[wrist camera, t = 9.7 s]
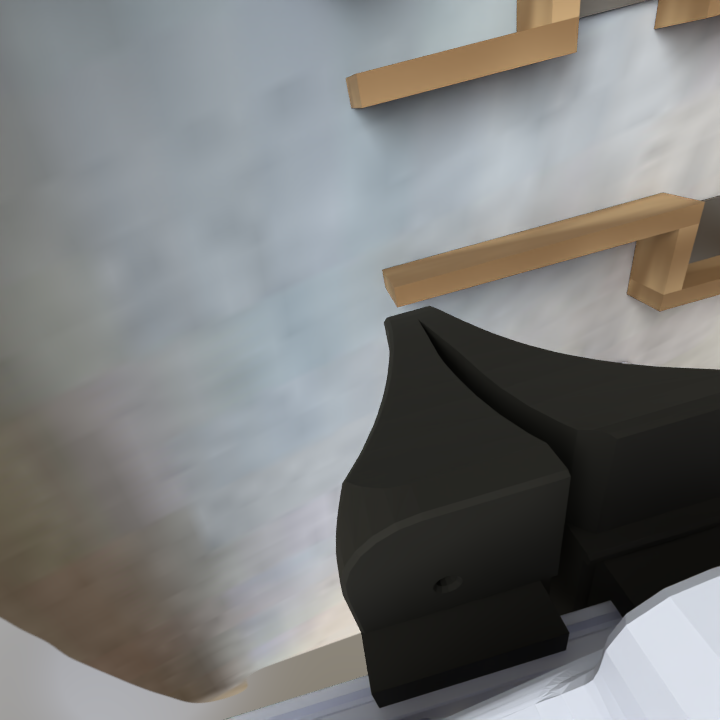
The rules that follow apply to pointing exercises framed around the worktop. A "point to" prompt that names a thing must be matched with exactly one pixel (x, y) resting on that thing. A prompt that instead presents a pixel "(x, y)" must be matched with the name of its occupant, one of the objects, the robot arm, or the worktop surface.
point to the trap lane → (574, 235)
